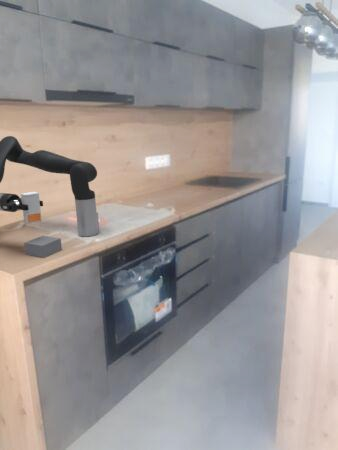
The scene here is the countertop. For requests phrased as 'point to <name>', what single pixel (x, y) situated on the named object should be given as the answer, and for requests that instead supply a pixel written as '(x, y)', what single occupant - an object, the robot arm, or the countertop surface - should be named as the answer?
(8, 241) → the countertop surface
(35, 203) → the skincare box
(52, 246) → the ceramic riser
